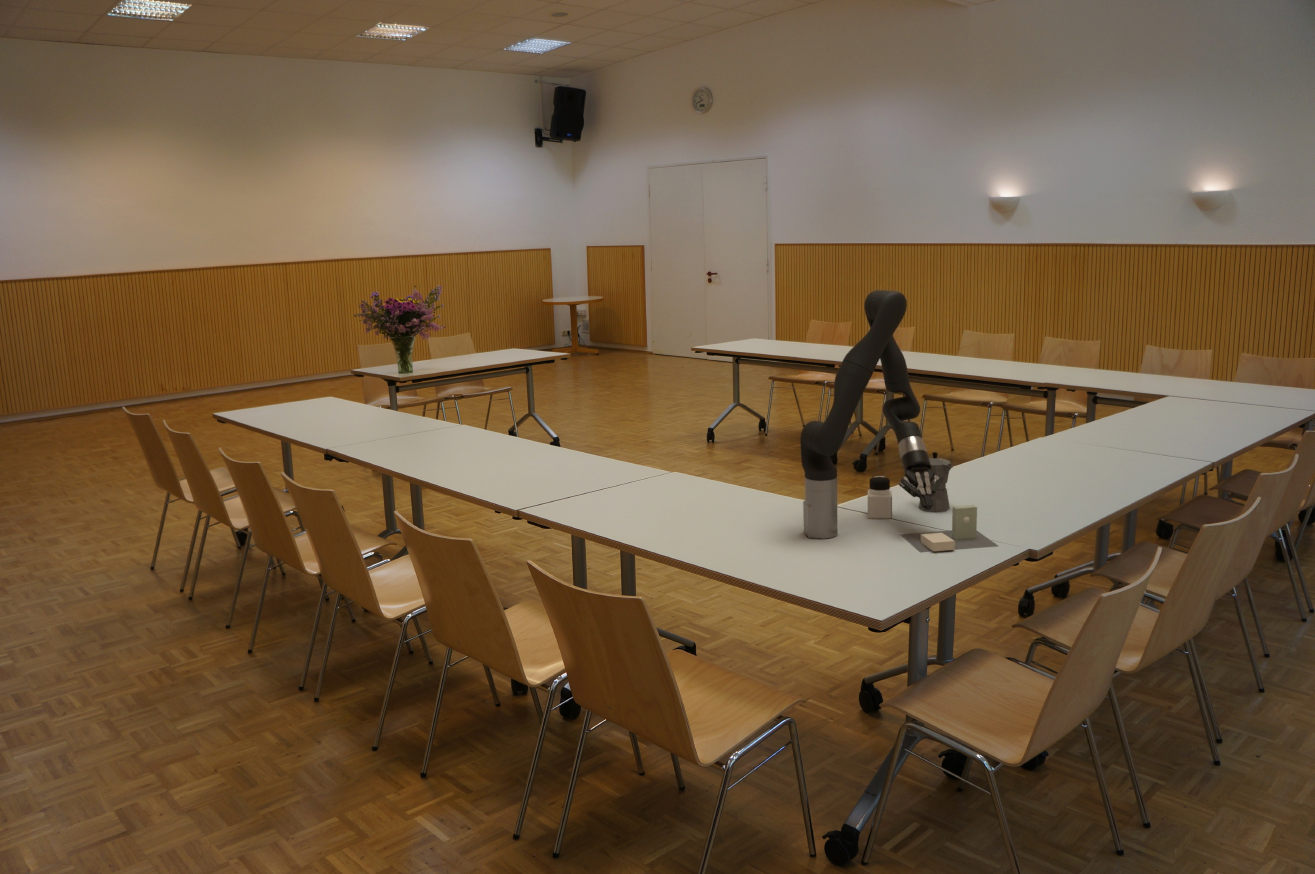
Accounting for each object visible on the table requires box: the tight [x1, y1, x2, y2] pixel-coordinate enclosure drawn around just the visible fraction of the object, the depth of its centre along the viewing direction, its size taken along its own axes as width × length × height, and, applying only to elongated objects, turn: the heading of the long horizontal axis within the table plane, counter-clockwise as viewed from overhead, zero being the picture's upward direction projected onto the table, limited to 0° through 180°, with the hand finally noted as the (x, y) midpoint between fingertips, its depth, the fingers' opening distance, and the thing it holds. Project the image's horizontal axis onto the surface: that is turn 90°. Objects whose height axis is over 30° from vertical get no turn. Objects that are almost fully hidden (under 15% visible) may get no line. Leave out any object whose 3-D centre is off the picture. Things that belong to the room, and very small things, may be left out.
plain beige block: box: [921, 533, 956, 552], centre depth 258 cm, size 6×3×9 cm
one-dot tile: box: [951, 504, 978, 540], centre depth 264 cm, size 6×3×9 cm, turn 95°
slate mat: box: [899, 529, 999, 553], centre depth 264 cm, size 22×16×1 cm
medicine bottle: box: [867, 475, 893, 519], centre depth 290 cm, size 7×7×12 cm
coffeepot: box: [918, 451, 954, 513], centre depth 295 cm, size 15×9×18 cm, turn 35°
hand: (928, 508), depth 262 cm, fingers closed
